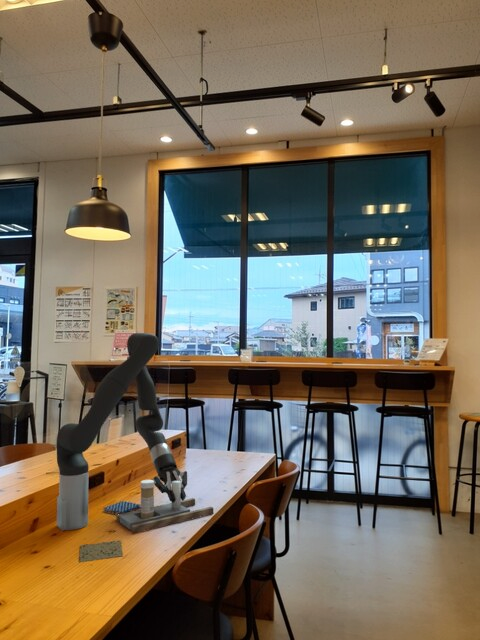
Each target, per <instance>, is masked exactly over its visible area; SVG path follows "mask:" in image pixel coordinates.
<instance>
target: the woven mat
mask: <svg viewBox="0 0 480 640" xmlns="http://www.w3.org/2000/svg"><path fill="white" fill-rule="evenodd" d="M137 509H138V510H141V503H135V502H131V501H125V500H122V501H121V500H120V501H119V502H115V503H113V504H110V505H107V506H105V507H103V509H102V510H103V511H102V513H107V514H111V515H115V516H117V515H118V514H123V513H128V512H132V511H135V510H136V511H137Z"/></svg>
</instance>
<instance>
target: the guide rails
mask: <svg viewBox="0 0 480 640" xmlns="http://www.w3.org/2000/svg"><path fill="white" fill-rule="evenodd" d="M167 505H172V502H169V503H165V504H161V505H154V508H158V507H163V506H167ZM181 505H182V506H184V507H186V508H187V507H191V506H190V505H192V506H195V505H196V499H195V498H187V499H184V500H183V501H182V500H181ZM140 511H141V509H138V510H136V511H132V512H128V513H123V514H119V515H116V522H117V523H120V516H122V515H127V514H131V513H136V512H140ZM209 514H210V515H213V514H214V506H213V507H212V506H208V507H205V508H204V507H203V508H201V509H200V508H199V509H195V510H190V512H186V513H182V514H178V515H173V516H169V517H165V518H161V519H157V520H152V521H148V522H144V523H140V524H135V525H132V530H131V533H133V534H136V533H137V534H138V533H141V532H144V530H145V531H149V530H152V528H153V529H157V528H160V527H165V526H168V525H172V524H177V523H181V522H185V521H189V520H193V519H197V518H201V517H205V516H204V515H206V516H208V515H209ZM200 516H201V517H200ZM196 517H197V518H196ZM192 518H193V519H192ZM148 529H149V530H148Z"/></svg>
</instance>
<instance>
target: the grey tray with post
mask: <svg viewBox="0 0 480 640" xmlns="http://www.w3.org/2000/svg"><path fill="white" fill-rule="evenodd" d="M181 483H182V480H181V481H172V482H171V490H173V493H174V495H175V498H176V500H175V502H174V503H172V502H171V503H172V505H167V506H163V507H158V508H154V517H151V518H147V519H143V520H142V519H141V511H140V512H136V513H131V514H127V515H122V516H120V522H119V523H120V524H121V525H123V526H124V527H125V528H127V529H128V530H129V531H132V525H135V524H140V523H144V522H148V521H152V520H157V519H161V518H165V517H169V516H173V515H178V514H182V513H186V512H190V511H191V509H190V508H187V507H184V506H182V505H181V501H182V500H181Z"/></svg>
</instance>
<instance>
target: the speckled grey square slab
mask: <svg viewBox="0 0 480 640" xmlns="http://www.w3.org/2000/svg"><path fill="white" fill-rule="evenodd" d="M78 553H79V556H78V563H86V562H93V561H99V560H101V561H102V560H107V559H116V558H123V557H124V553H123V544H122V540H112V541H105V542H104V541H103V542H97V543H89V544H88V543H86V544H80V546H79V552H78Z"/></svg>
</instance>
